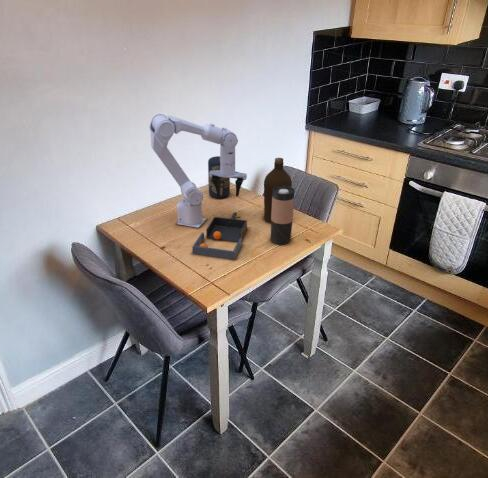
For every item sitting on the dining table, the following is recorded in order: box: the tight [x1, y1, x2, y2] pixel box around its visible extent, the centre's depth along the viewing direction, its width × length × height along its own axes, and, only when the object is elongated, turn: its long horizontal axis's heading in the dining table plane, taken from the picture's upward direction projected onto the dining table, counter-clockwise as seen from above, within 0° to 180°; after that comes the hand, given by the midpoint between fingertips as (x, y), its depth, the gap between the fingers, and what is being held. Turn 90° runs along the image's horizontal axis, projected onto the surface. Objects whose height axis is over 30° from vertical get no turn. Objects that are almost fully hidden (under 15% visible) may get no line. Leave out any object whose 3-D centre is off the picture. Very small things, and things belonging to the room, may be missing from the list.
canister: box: [207, 155, 231, 199], centre depth 189 cm, size 10×10×18 cm
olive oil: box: [263, 157, 293, 224], centre depth 166 cm, size 11×11×25 cm
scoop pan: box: [205, 211, 248, 243], centre depth 165 cm, size 19×13×4 cm
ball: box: [213, 231, 221, 240], centre depth 158 cm, size 3×3×3 cm
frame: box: [192, 232, 243, 261], centre depth 152 cm, size 10×15×3 cm
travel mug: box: [270, 186, 296, 246], centre depth 153 cm, size 8×8×20 cm
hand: (228, 194), depth 171 cm, fingers open, 7 cm apart
